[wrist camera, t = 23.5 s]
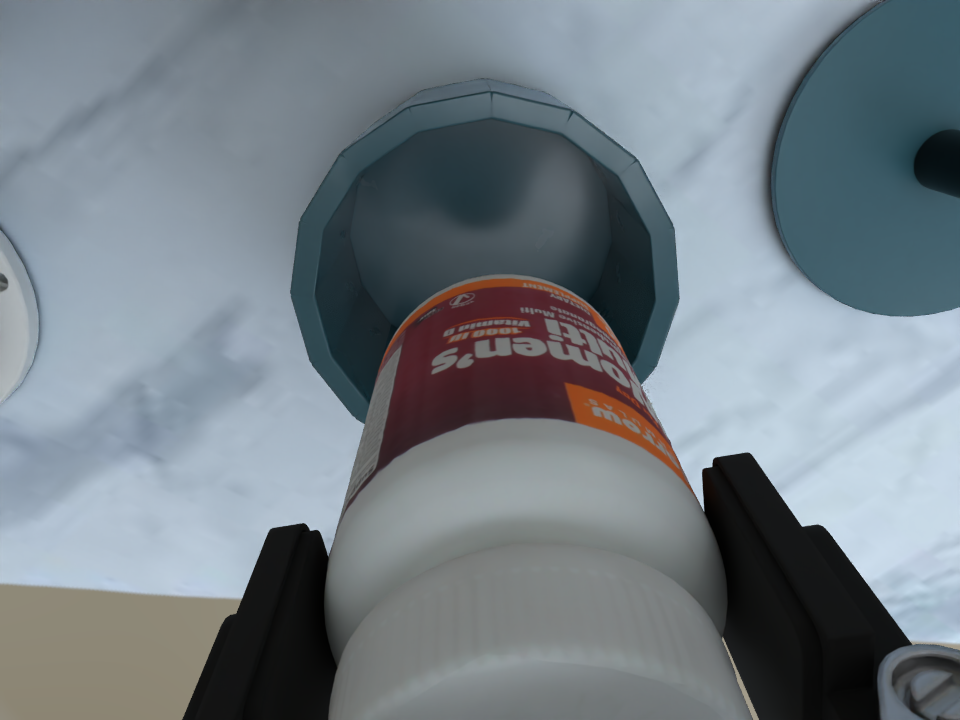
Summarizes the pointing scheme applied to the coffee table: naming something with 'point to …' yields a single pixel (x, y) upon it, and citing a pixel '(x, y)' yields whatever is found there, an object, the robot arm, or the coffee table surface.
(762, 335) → the coffee table surface
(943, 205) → the lid
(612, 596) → the pill bottle
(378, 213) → the pot
